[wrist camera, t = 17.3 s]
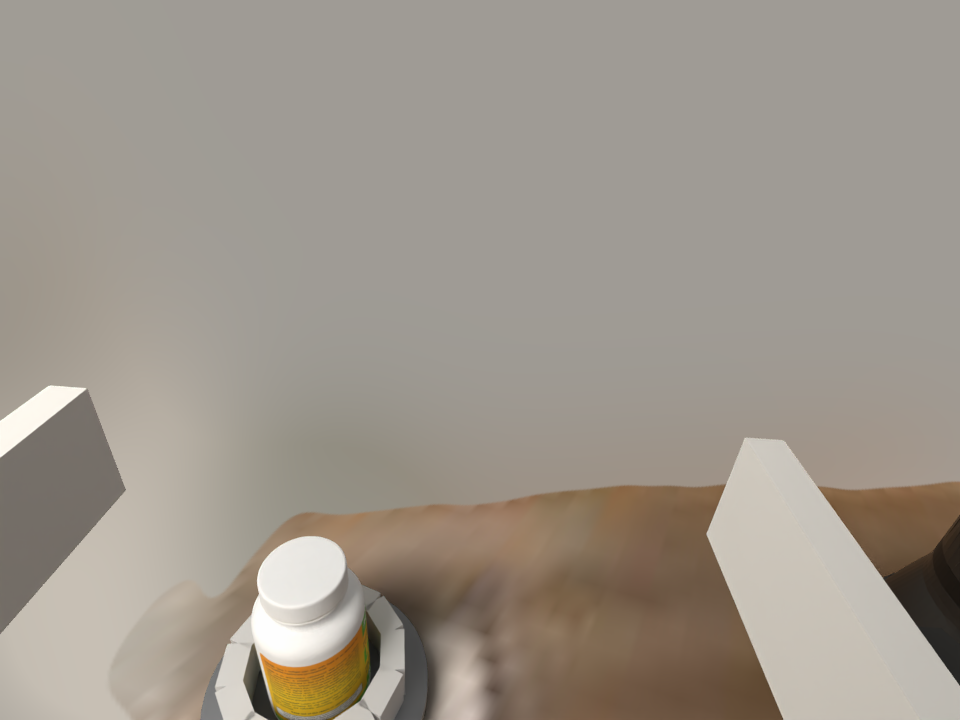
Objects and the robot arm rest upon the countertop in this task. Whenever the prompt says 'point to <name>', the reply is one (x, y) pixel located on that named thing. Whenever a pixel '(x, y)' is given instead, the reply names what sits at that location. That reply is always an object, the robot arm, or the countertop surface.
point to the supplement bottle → (311, 631)
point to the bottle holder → (383, 708)
